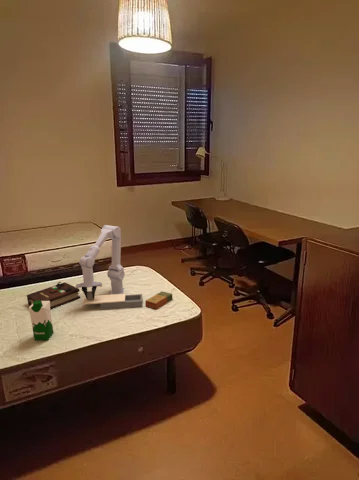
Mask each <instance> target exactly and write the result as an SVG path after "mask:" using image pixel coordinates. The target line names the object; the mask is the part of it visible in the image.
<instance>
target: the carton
mask: <svg viewBox="0 0 359 480" xmlns="http://www.w3.org/2000/svg"><path fill="white" fill-rule="evenodd" d="M171 301H173V294H172V293H171V292H166V291H162V290H161V291H160V292H158V293H156V294H155V295H152V296H150V297H149V298H148V299H146V300H145V307H146V308H150V309H153V310H159V309H160V308H162V307H163V306H164V305H167V304H168V303H169V302H171Z"/></svg>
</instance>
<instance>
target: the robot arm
mask: <svg viewBox="0 0 359 480" xmlns="http://www.w3.org/2000/svg"><path fill="white" fill-rule="evenodd" d="M121 231H122V229H121V228H120V227H119V226H118V225H117V226H116V225H115V226H114V225H109V224H104V225H103V226H102V228H101V229H100V234H99V237H98V238H97V240H96V242H95V244H94V245H91V246H90V247H89V249H88V250H87V251H86V253H85V255H84V256H81V257H80V259H79V262H78V264H79V266H81V267H80V268H81V270H82V271H81V272H82V278H83V279H82V280H83V282H81V283H76V285H75V287H76V288H78V289H80V288H81V291H82V292H83V295H84V297H85V296H86V299H87V292H88V288H91V291H92V294H93V299H94V298H95V296H96V290H97V287H100V288H102V287H103V282H100V281H99V282H98V281H95V279H94V270H93V267H94V265H95V261H96V257H97V256H98V255H99V254H100V248H101V247H102V246H103V245H104V243H105V242H106V241H107V239H110V240H111V265H109V266H108V271H107V277H108V278H109V280H110V287H111V288H110V289H111V290H110V295H113V294H125V287H124V286H123V280H124V278H125V268H124V267H123V266H122V265H121V254H122V253H121V251H122V247H121V246H122V233H121Z"/></svg>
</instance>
